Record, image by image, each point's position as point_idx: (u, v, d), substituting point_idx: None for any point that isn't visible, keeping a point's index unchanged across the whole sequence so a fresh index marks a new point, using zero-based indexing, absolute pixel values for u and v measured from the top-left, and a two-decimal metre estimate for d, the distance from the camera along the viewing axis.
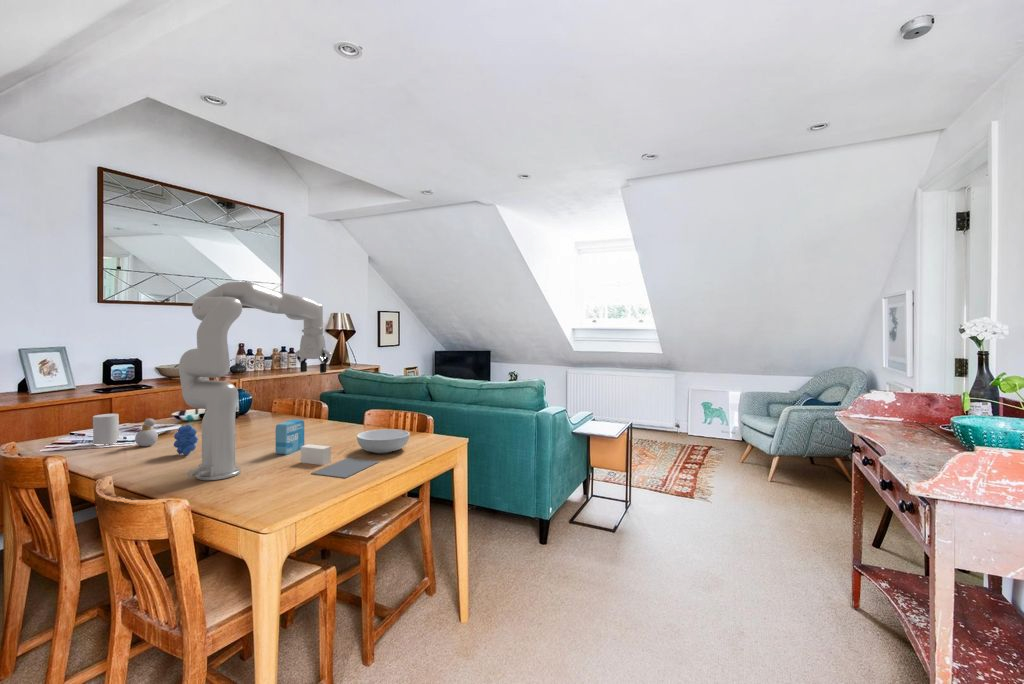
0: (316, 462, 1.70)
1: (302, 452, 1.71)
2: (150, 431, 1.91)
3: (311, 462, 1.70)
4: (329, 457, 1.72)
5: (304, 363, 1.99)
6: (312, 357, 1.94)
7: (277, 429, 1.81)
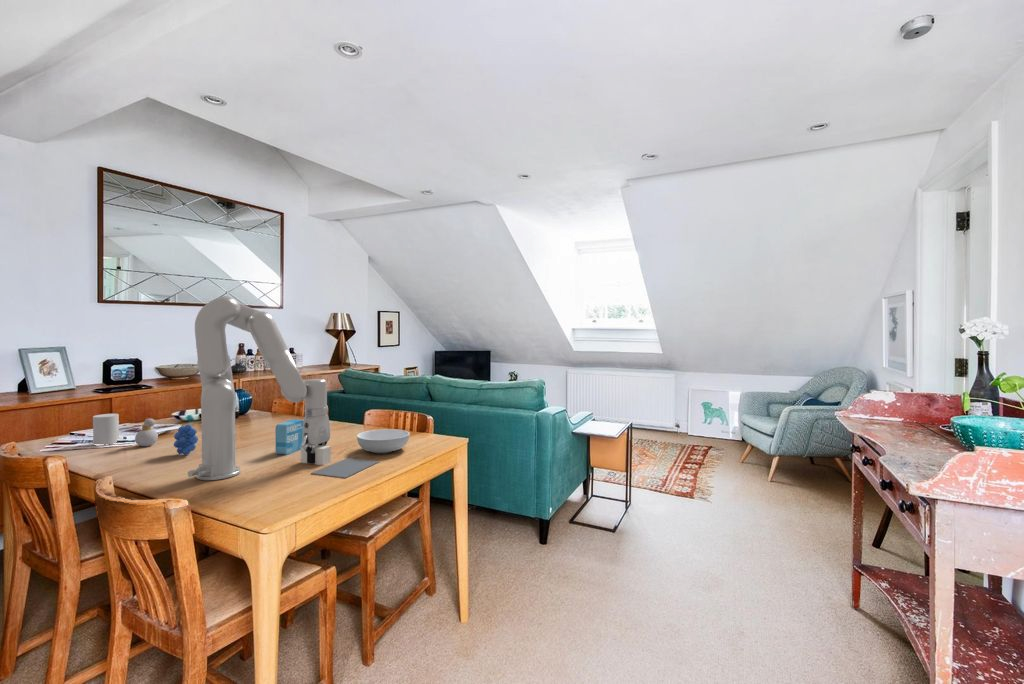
0: (316, 462, 1.70)
1: (302, 452, 1.71)
2: (150, 431, 1.91)
3: None
4: (329, 457, 1.72)
5: None
6: (325, 440, 1.73)
7: (277, 429, 1.81)
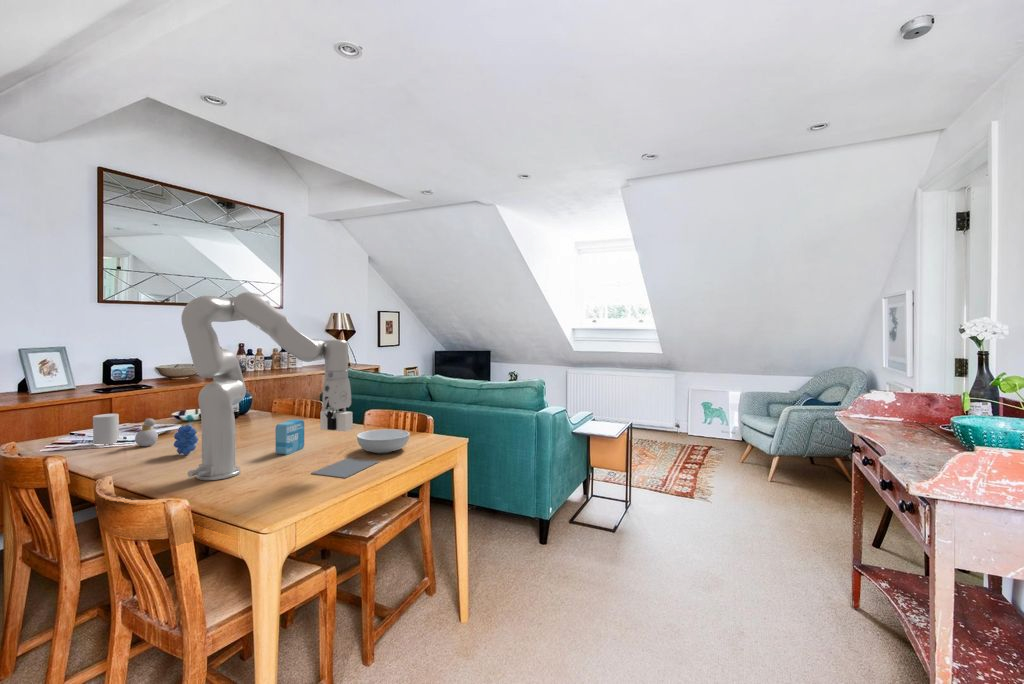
0: (337, 428, 1.58)
1: (322, 418, 1.60)
2: (150, 431, 1.91)
3: None
4: (351, 423, 1.60)
5: None
6: (346, 405, 1.61)
7: (277, 429, 1.81)
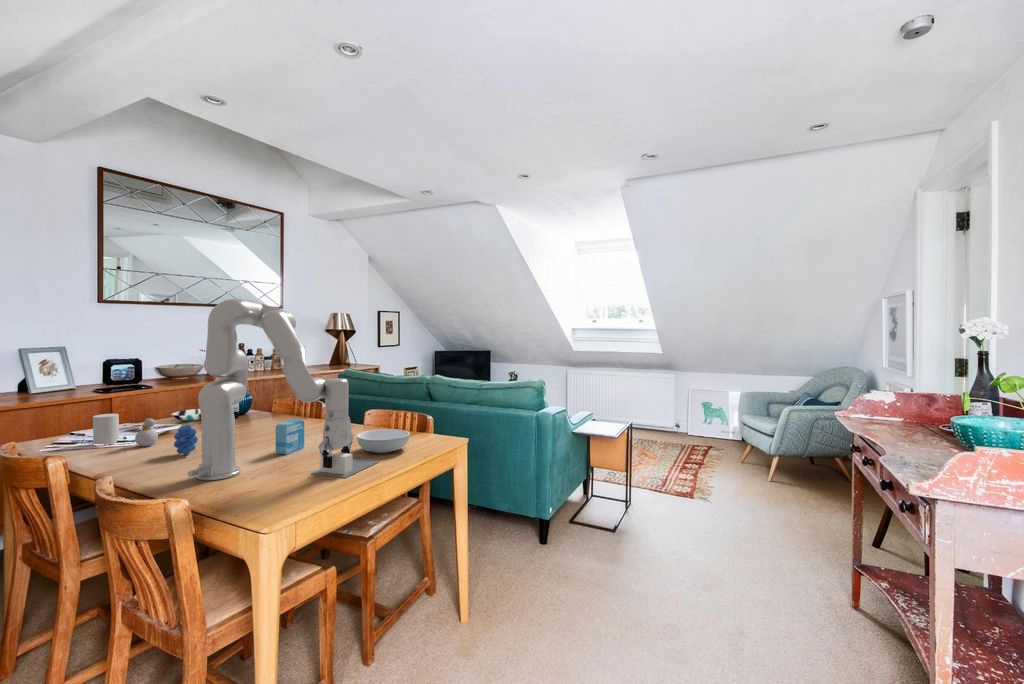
0: (337, 471, 1.58)
1: (322, 460, 1.60)
2: (150, 431, 1.91)
3: (332, 471, 1.59)
4: (351, 466, 1.60)
5: None
6: (346, 444, 1.61)
7: (277, 429, 1.81)
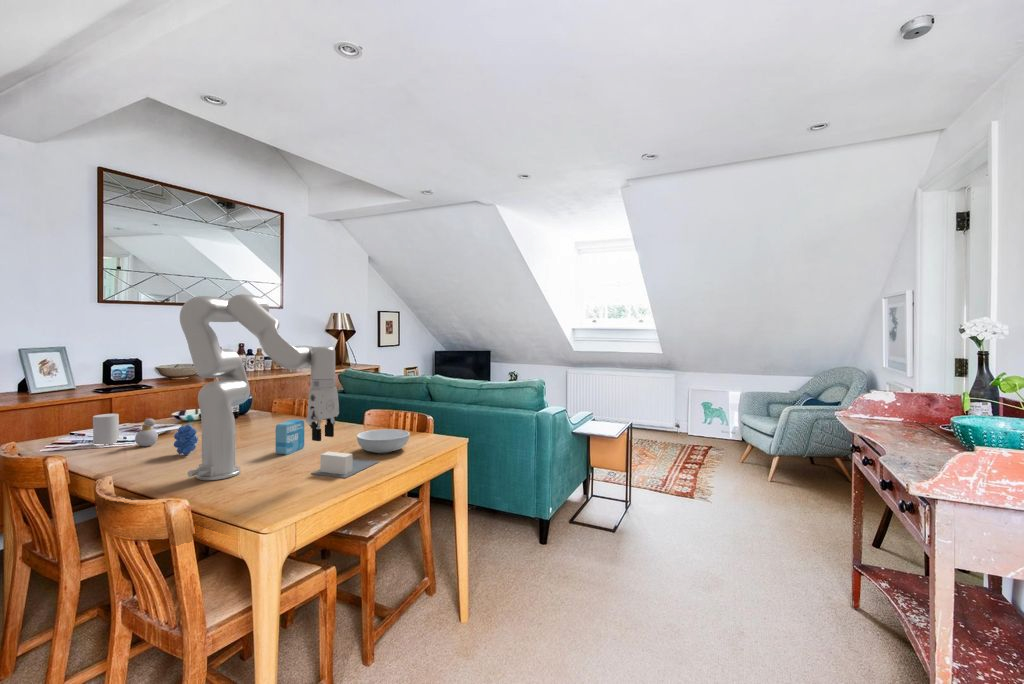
0: (337, 471, 1.58)
1: (322, 460, 1.60)
2: (150, 431, 1.91)
3: (332, 471, 1.59)
4: (351, 466, 1.60)
5: None
6: (333, 415, 1.54)
7: (277, 429, 1.81)
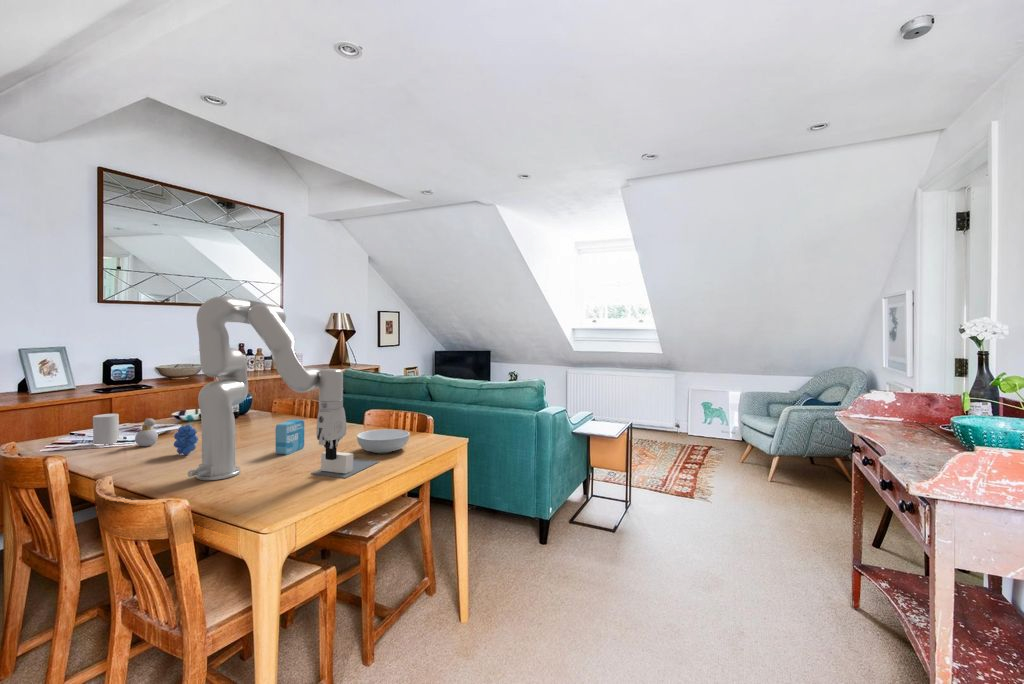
0: (337, 470, 1.58)
1: (323, 459, 1.60)
2: (150, 431, 1.91)
3: (332, 470, 1.59)
4: (351, 465, 1.60)
5: None
6: (341, 436, 1.58)
7: (277, 429, 1.81)
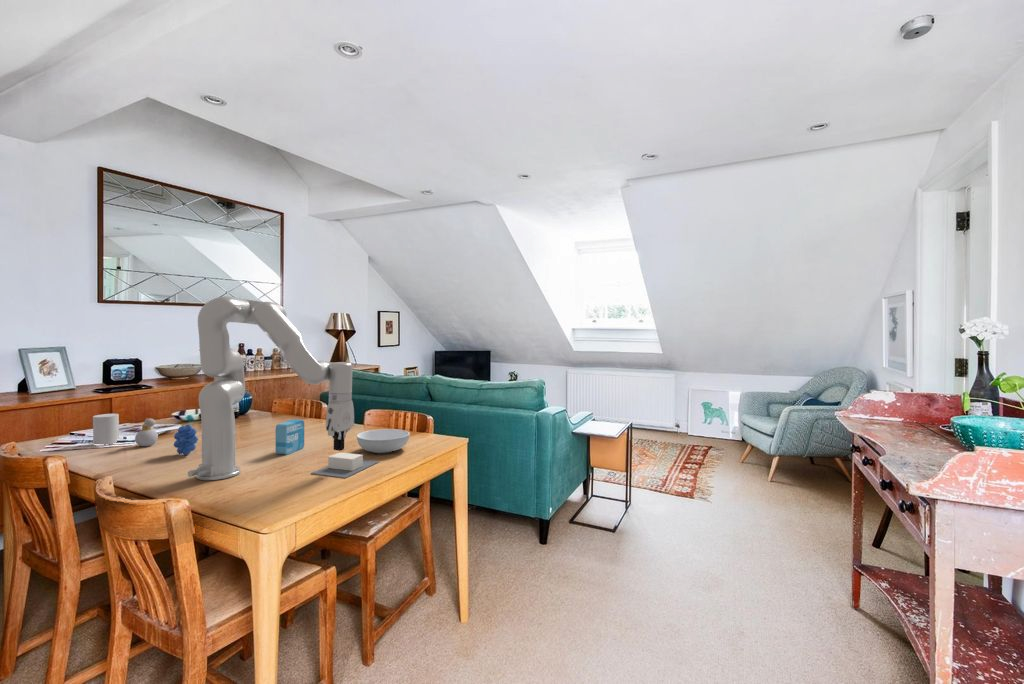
0: (346, 457, 1.62)
1: (337, 454, 1.67)
2: (150, 431, 1.91)
3: (340, 457, 1.63)
4: (355, 467, 1.63)
5: None
6: (349, 427, 1.63)
7: (277, 429, 1.81)
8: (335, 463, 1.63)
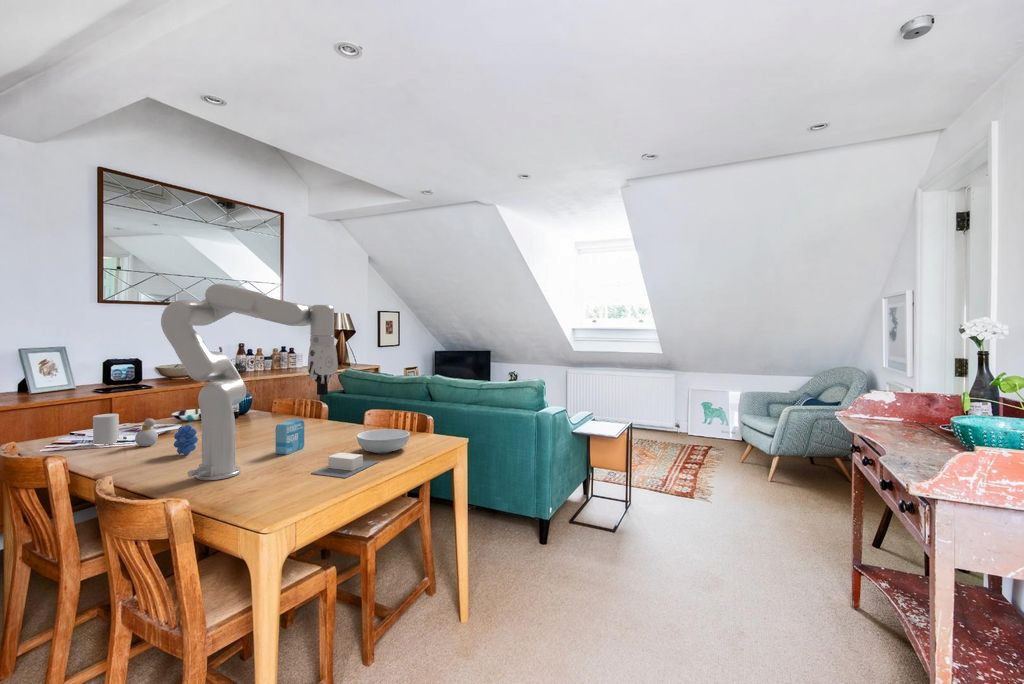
0: (346, 457, 1.62)
1: (337, 454, 1.67)
2: (150, 431, 1.91)
3: (340, 457, 1.63)
4: (355, 467, 1.63)
5: None
6: (332, 372, 1.59)
7: (277, 429, 1.81)
8: (335, 463, 1.63)
